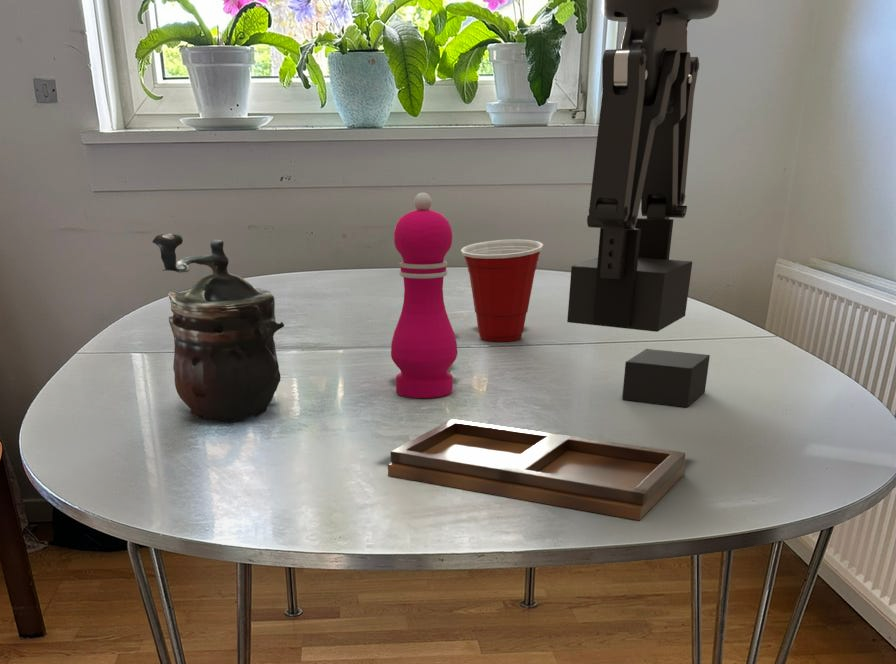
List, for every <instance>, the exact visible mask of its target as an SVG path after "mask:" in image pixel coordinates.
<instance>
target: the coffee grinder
mask: <svg viewBox="0 0 896 664" xmlns="http://www.w3.org/2000/svg"><path fill="white" fill-rule="evenodd" d="M152 243H153V244H155V245H156V246H157V247H158V248H159V250H160V251H159V252H160V259H161V261H162V263H163V267H164V269H162V271H164V272H165V271H167V272H169V271H171V272H175V273H179V274H180V273H188V272H189V271H190V266H189V265H190V264H197V265H202V266H206V267H207V266H208V267H209V268H210V269H211V274H209V275H206V276H204V277H201V278H200V279H198V280H197V281H196V282H195V283H194V284H193V286H192V287H191V288H190V289H186V290H184V291H180V292H168V293H167V295H168V298H169V300H170V311H171V312H172V314H173V315H172V316H168V322H169V325H170V329H171V332H172V335H173V342H174V343H173V344H174V350H173V351H174V352H173V353H174V355H173V364H172V365H173V368H172V369H173V373H174V387H175V390H176V393H177V395H178V397H179V398H180V399H181V400H182V402H184V404H185V405H186V406H187V407H188V409H189V410H190V412H191V413H192V414H193V415H195V416H196V417H197V418H198V419H203V418H205V419H208V420H215V419H217V420H220V421H224V422H226V423H227V422H228V423H227V424H230V423H235V422H237V421H238V420H240V419H243V418H245V417H246V418H247V417H250V416H254V417H256V418H257V417H259V416H261V415H262V414H265V412H267V408H268V406H269V405H270V404H271V402H272V401H273V397H274V394H276V392H277V389H278V386H279V384H280V382H281V373H280V372H281V371H280V366H279V361H278V356H277V350H276V342H275V340H274V337H275V334H276V332H278V331H279V330H280V329H282V328H284V327H285V324H284V322H283V321H280V323H278V322H276V312H275V311H276V310H275V309H276V300H275V296H274V294H273V293H272V291H270V290H267V289H265V288H257V287H254V286H253V285H252V284H251V283H250V282H249V281H248V280H246V279H245V278H243V277H241V276H238V275H236V274H232V273H230V272H229V271H228V265H229V261H230V260H229V258H228V257H227V255H226V254H225V251H224V243H225V242H224V241H223V240H221V239H212V240H210V243H209V244H210V245H209V246H210V250H211V254H206V255H198V256H187V257H183V258H181V259H180V260H178V261H177V253H176V250H177V248H178V247H180V246H181V245H182V244H183V243H184V238H183V236H182V235H180V234H177V233H160V234H157V235H155V237H154V238H153V239H152Z"/></svg>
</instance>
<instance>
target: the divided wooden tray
mask: <svg viewBox="0 0 896 664" xmlns="http://www.w3.org/2000/svg"><path fill="white" fill-rule="evenodd" d="M685 460H686V452H684V451H676V450H670V449H662V448H655V447H648V446H641V445H635V444H634V445H633V444H628V443H620V442H614V441H607V440H601V439H592V438H585V437H579V436H572V435H565V434H558V433H551V432H543V431H538V430H537V431H536V430H529V429H523V428H515V427H509V426H502V425H495V424H488V423H482V422H481V423H480V422H474V421H467V420H460V419H454V418H453V419H452V418H451V419H449V420H447V421H445V422H443V423H441V424H439V425H438V426H435V427H434V428H432V429H430V430H428V431H427V432H425V433H422V434H421V435H419V436H417V437H415V438H413V439H411V440H409V441H408V442H406V443H404V444H402V445H400V446H398V447H396V448H395V449H393V450H391V451H390V463H388V464H387V476H389V477H392V478H393V477H394V478H400V479H405V480H410V481H416V482H421V483H427V484H432V485H439V486H445V487H450V488H454V489H455V488H456V489H460V490H468V491H472V492H478V493H484V494H489V495H495V496H500V497H504V498H505V497H506V498H512V499H517V500H523V501H528V502H533V503H539V504H544V505H550V506H556V507H560V508H567V509H573V510H577V511H584V512H589V513H595V514H600V515H607V516H613V517H616V518H617V517H618V518H623V519H629V520H634V521H641V519H643V518H644V516H645V515H646V514H648V512H650V510H651V509H652V508H653V507H655V505H656V504H657V503H658V502H659V501H660V500H661V499H662V498H663V496H665V494H666V493H667V492H669V490H670V489H671V488H672V487H673V486H675V484H677V482H678V481H679V480H680V479H681V478H682V477H683V476H684V475H685V473H686V464H687V463H686V462H685Z"/></svg>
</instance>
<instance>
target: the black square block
mask: <svg viewBox="0 0 896 664" xmlns="http://www.w3.org/2000/svg"><path fill="white" fill-rule="evenodd" d="M597 264H598V257H595V258H592V259H589V260H586V261H583V262H580V263H577V264H574V265H571V269H570V280H569V281H570V283H569V293H568V306H567V307H568V308H567V321H566V322H567V323H571V324H579V325H581V324H582V325H587V326H588V325H590V326H599V327H606V328H608V327H609V328H617V329H618V328H619V329H625V330H626V329H627V330H636V331H647V332H654V333H658V332H660V331H661V330H664V329H665V328H667V327H669V326H670V325H672V324H674V323H675V322H677V321H679V320H681V319H682V318H684V317H686V311H687V306H688V298H689V290H690V283H691V275H692V270H693V269H692V268H693V261H692V260H677V259H669V260H666V259H652V258H638V265H637V274H636V284H635V294H634V304H633V314H632V324H631V326H630V327H618V326H607V325H597V324H593V314H594V301H595V289H596V276H597Z"/></svg>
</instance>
